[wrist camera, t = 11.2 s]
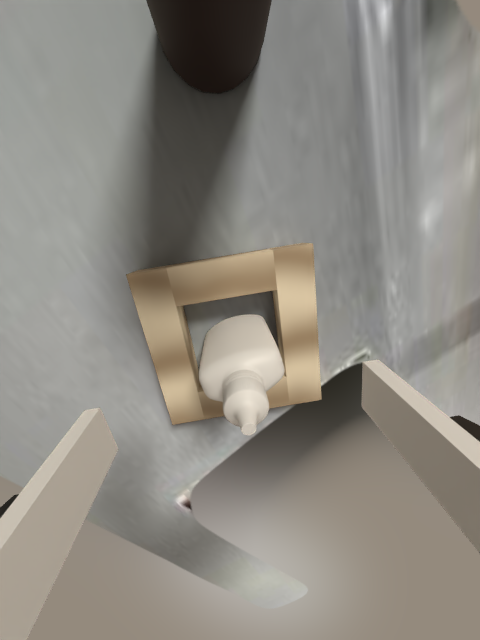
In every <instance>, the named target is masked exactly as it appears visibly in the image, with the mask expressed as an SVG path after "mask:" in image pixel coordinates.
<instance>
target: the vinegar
mask: <svg viewBox="0 0 480 640" xmlns="http://www.w3.org/2000/svg"><path fill="white" fill-rule="evenodd" d="M271 1H272V0H147V3H148V6H149V9H150V12H151V16H152V19H153V22H154V25H155V28H156V31H157V34H158V37H159V40H160V43H161V46H162V49H163V52H164V54H165V55H166V57H167V59H168V61H169V62H170V64H171V66H172V68H173V69H174V71H175V72H176V73H177V74H178V75H179V76H180V77H181V78H182V79H183V80H184V81H185V82H186V83H187V84H188V85H190V86H192V87H194V88H196V89H198V90H200V91H202V92H209V93H222V92H225V91H228V90H231V89H234V88H235V87H236V86H238V85H239V84H240V83H241V82H243V81H244V80H245V79H246V78H247V77H248V75H249V74H250V72H251V71H252V69H253V68H254V66H255V65H256V63H257V61H258V58H259V55H260V51H261V48H262V45H263V42H264V37H265V31H266V26H267V21H268V16H269V11H270V6H271Z"/></svg>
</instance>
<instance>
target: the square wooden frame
mask: <svg viewBox="0 0 480 640" xmlns="http://www.w3.org/2000/svg"><path fill="white" fill-rule="evenodd" d="M126 276H127V279H128V283H129V286H130V289H131V292H132V295H133V299H134V302H135V305H136V308H137V312H138V315H139V318H140V321H141V324H142V328H143V331H144V334H145V337H146V341H147V344H148V347H149V350H150V353H151V357H152V360H153V363H154V366H155V370H156V373H157V376H158V379H159V382H160V386H161V389H162V392H163V395H164V399H165V402H166V405H167V408H168V411H169V415H170V418H171V421H172V424H173V425H174V424H180V423H186V422H192V421H198V420H204V419H210V418H216V417H221V416H224V412H223V402H222V401H215V400H212V399H210V398H208V397H207V396H206V394H205V393H204V391H203V388H202V386H201V383H200V381H199V369H198V365H197V361H196V357H195V352H194V348H193V344H192V340H191V336H190V332H189V328H188V324H187V319H186V315H185V311H184V307H183V305H189V304H195V303H201V302H207V301H213V300H219V299H225V298H231V297H237V296H243V295H249V294H255V293H261V292H267V291H272V293H273V302H274V311H275V320H276V328H277V337H278V346H279V352H280V355H281V358H282V361H283V365H284V369H285V371H284V375H283V377H282V379H281V380H280V381H279V382H278V383H277V384H276V385H274V386H273V387H272V388H271V389H269V390H268V391H266V394H267V398H268V401H269V408H275V407H281V406H287V405H292V404H298V403H304V402H310V401H316V400H321V384H320V365H319V346H318V328H317V309H316V290H315V271H314V253H313V244H311V243H300V244H294V245H288V246H282V247H275V248H269V249H263V250H257V251H251V252H245V253H239V254H233V255H227V256H221V257H215V258H209V259H203V260H197V261H191V262H185V263H179V264H173V265H167V266H161V267H155V268H149V269H143V270H137V271H135V272H132V273H129V274H126Z"/></svg>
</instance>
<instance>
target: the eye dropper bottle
mask: <svg viewBox="0 0 480 640" xmlns="http://www.w3.org/2000/svg"><path fill="white" fill-rule="evenodd" d="M284 371H285V369H284V365H283V361H282V358H281V355H280V352H279V349H278V347H277V345H276V343H275V340H274V338H273V336H272V334H271V332H270V330H269V328H268V326H267V324H266V322H265V320H264V318H263V317H262V316H260V315H253V314H246V315H238V316H234V317H230V318H228V319H225V320H223V321H221V322H219V323H218V324H216V325H215V326H213V327H212V328H211V329H210V330H209V331H208V332H207V334H206V336H205V341H204V346H203V351H202V356H201V361H200V367H199V381H200V383H201V386H202V388H203V391H204V393H205V394H206V396H207V397H208V398H210V399H212V400H215V401H222V402H223V412H224V416H225V417H226V419H227V420H228V421H229V422H230V423H232V424H234V425H236V426H239V427H240V428H241V431H242V433H243V434H245V435H252V434H254V433H255V432H256V426H257V424H258V423H260V422H261V421H263V419H265V417H266V416H267V414H268V411H269V401H268V398H267V394H266V391H268V390H269V389H271V388H272V387H273V386H274V385H276V384H277V383H278V382H279V381H280V380H281V379H282V377H283V375H284Z"/></svg>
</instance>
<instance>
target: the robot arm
mask: <svg viewBox="0 0 480 640" xmlns="http://www.w3.org/2000/svg"><path fill="white" fill-rule="evenodd" d="M362 374H363V375H362V408H363V409H364V410H365V411H366V412H367V414H368V415H369V416H370V418H371V419H372V420H373V421H374V423H375V424H376V425H377V426H378V428H379V429H380V430H381V431H382V432H383V434H384V435H385V436H386V437H387V439H388V440H389V441H390V442H391V444H392V445H393V446H394V447H395V449H396V450H397V451H398V453H399V454H400V455H401V456H402V457H403V459H404V460H405V461H406V462H407V464H408V465H409V466H410V467H411V469H412V470H413V471H414V472H415V474H416V475H417V476H418V477H419V479H420V480H421V481H422V482H423V483H424V485H425V486H426V487H427V489H428V490H429V491H430V492H431V493H432V495H433V496H434V497H435V498H436V500H437V501H438V502H439V503H440V504H441V506H442V507H443V508H444V510H445V511H446V512H447V513H448V514H449V516H450V517H451V518H452V520H453V521H454V522H455V523H456V524H457V526H458V527H459V528H460V529H461V531H462V532H463V533H464V534H465V536H466V537H467V538H468V539H469V541H470V542H471V543H472V544H473V545H474V547H475V548H476V549H477V551H478V552H479V553H480V426H479V425H477V424H475V423H473V422H471V421H469V420H467V419H465V418H463V417H461V416H454V417H448V416H447V415H446V414H445V413H443V412H442V411H441V410H440V409H438V408H437V407H436V406H435V405H434V404H432V403H431V402H430V401H429V400H427V399H426V398H425V397H424V396H422V395H421V394H420V393H419V392H417V391H416V390H415V389H414V388H412V387H411V386H410V385H409V384H408V383H406V382H405V381H404V380H403V379H401V378H400V377H399V376H398V375H396V374H395V373H394V372H393V371H391V370H390V369H389V368H388V367H387V366H385V365H384V364H383V363H382V362H380V361H379V360H372V361H366V362H363V372H362ZM117 452H118V447H117V445H116V443H115V440H114V438H113V436H112V433H111V431H110V429H109V427H108V424H107V422H106V420H105V418H104V415H103V413H102V411H101V408H95V409H89V410H84V412H83V413H82V414H81V416H80V417H79V418H78V419H77V421H76V422H75V423H74V425H73V426H72V427H71V428H70V430H69V431H68V432H67V434H66V435H65V436H64V437H63V439H62V440H61V441H60V443H59V444H58V445H57V446H56V448H55V449H54V450H53V452H52V453H51V454H50V455H49V457H48V458H47V459H46V460H45V462H44V463H43V464H42V466H41V467H40V468H39V469H38V471H37V472H36V473H35V475H34V476H33V477H32V478H31V480H30V481H29V482H28V484H27V485H26V486H25V487H24V489H23V490H22V491H21V493H20V494H18V495H14V496H13V497H12V498H11V499H9V500H8V501H7V502H6V503H5V504H4V505H3V506H2V507H0V640H27V639H28V637H29V635H30V632H31V630H32V628H33V626H34V624H35V622H36V620H37V618H38V616H39V614H40V611H41V609H42V607H43V605H44V603H45V601H46V599H47V597H48V595H49V593H50V591H51V589H52V587H53V585H54V583H55V580H56V578H57V576H58V574H59V572H60V570H61V568H62V566H63V564H64V562H65V560H66V558H67V555H68V553H69V551H70V549H71V547H72V545H73V543H74V541H75V539H76V537H77V534H78V533H79V531H80V529H81V526H82V524H83V522H84V520H85V518H86V516H87V514H88V512H89V510H90V508H91V506H92V504H93V501H94V499H95V497H96V495H97V493H98V491H99V489H100V487H101V485H102V483H103V481H104V479H105V477H106V474H107V472H108V470H109V468H110V466H111V464H112V462H113V460H114V458H115V456H116V454H117Z"/></svg>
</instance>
